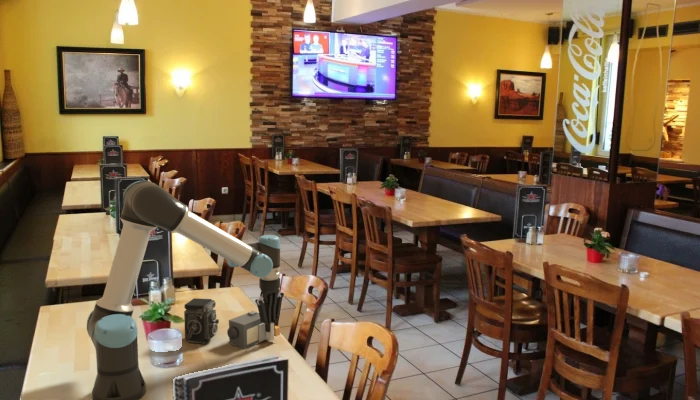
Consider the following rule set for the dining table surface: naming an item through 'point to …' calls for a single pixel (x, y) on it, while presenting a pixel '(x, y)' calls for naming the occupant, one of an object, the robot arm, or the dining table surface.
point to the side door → (263, 333)
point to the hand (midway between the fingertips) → (270, 339)
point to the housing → (244, 330)
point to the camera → (200, 320)
